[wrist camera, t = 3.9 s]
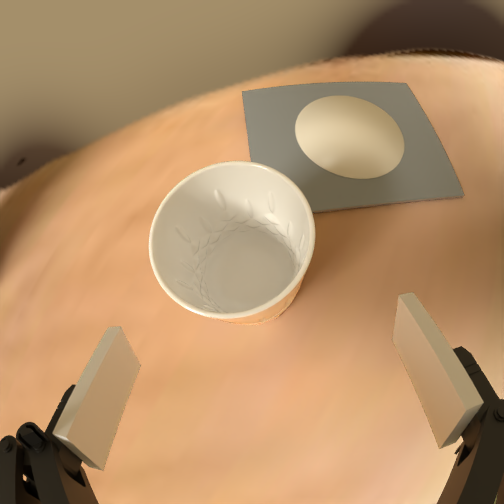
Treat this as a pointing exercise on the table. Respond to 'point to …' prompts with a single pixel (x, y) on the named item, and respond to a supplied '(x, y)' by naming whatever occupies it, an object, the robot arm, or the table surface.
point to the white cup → (233, 242)
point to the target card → (349, 143)
